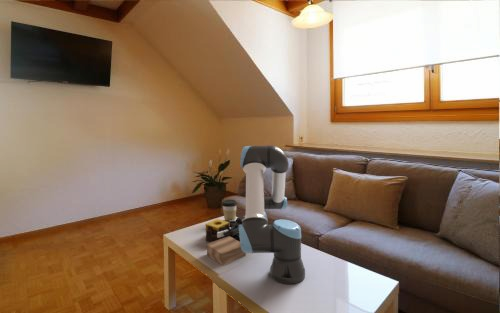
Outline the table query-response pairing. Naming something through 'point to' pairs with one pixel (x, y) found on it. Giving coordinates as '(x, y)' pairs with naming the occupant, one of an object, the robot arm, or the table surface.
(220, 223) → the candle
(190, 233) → the table surface
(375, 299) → the table surface
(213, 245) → the wooden box
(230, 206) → the coffee cup
